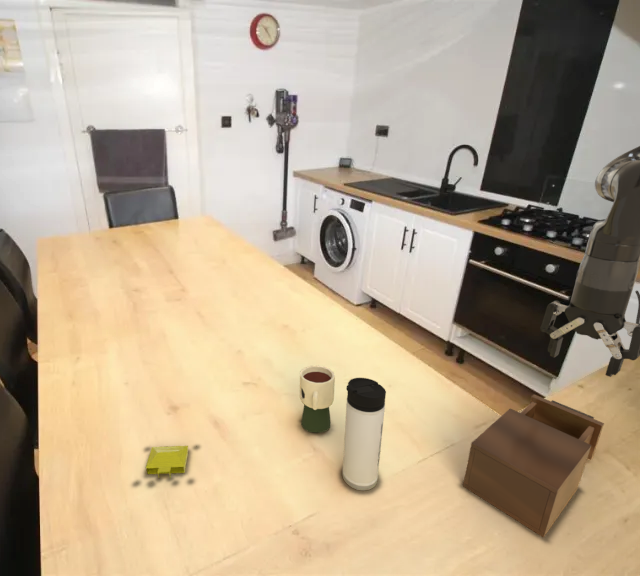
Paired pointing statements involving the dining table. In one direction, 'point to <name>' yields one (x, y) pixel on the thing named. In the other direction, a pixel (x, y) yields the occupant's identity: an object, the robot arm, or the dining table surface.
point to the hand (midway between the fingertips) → (580, 364)
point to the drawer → (565, 420)
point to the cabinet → (526, 469)
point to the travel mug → (363, 433)
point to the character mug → (316, 397)
